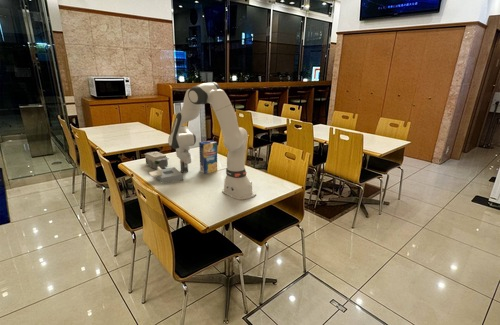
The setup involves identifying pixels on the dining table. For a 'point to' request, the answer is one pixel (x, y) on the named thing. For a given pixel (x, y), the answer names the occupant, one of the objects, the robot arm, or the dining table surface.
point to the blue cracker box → (208, 156)
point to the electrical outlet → (156, 160)
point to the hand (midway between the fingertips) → (184, 166)
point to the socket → (169, 175)
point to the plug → (183, 169)
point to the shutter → (156, 172)
